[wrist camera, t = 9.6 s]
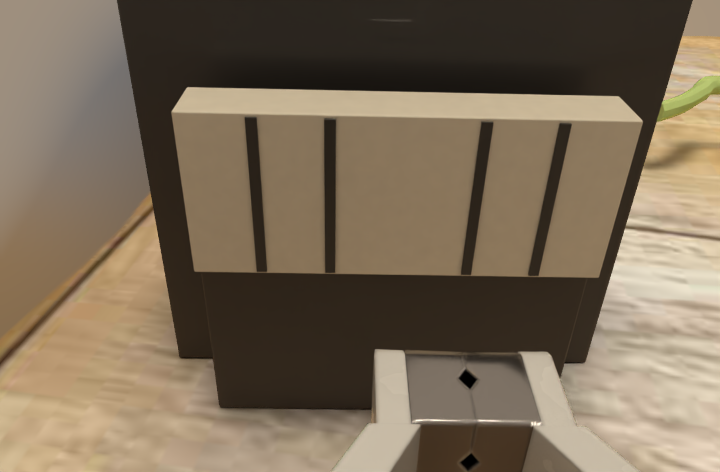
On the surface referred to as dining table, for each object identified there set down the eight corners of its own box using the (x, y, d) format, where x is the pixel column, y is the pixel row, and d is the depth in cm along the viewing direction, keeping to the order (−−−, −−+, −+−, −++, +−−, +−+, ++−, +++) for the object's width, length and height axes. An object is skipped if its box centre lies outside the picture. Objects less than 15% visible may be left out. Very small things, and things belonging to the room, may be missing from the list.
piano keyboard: (600, 279, 19) (645, 122, 16) (193, 273, 19) (170, 112, 16) (581, 245, 20) (619, 95, 18) (205, 238, 20) (186, 86, 17)
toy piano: (606, 411, 23) (757, -29, 15) (163, 407, 23) (69, -46, 15) (545, 269, 30) (623, -78, 22) (209, 264, 30) (164, -90, 22)
